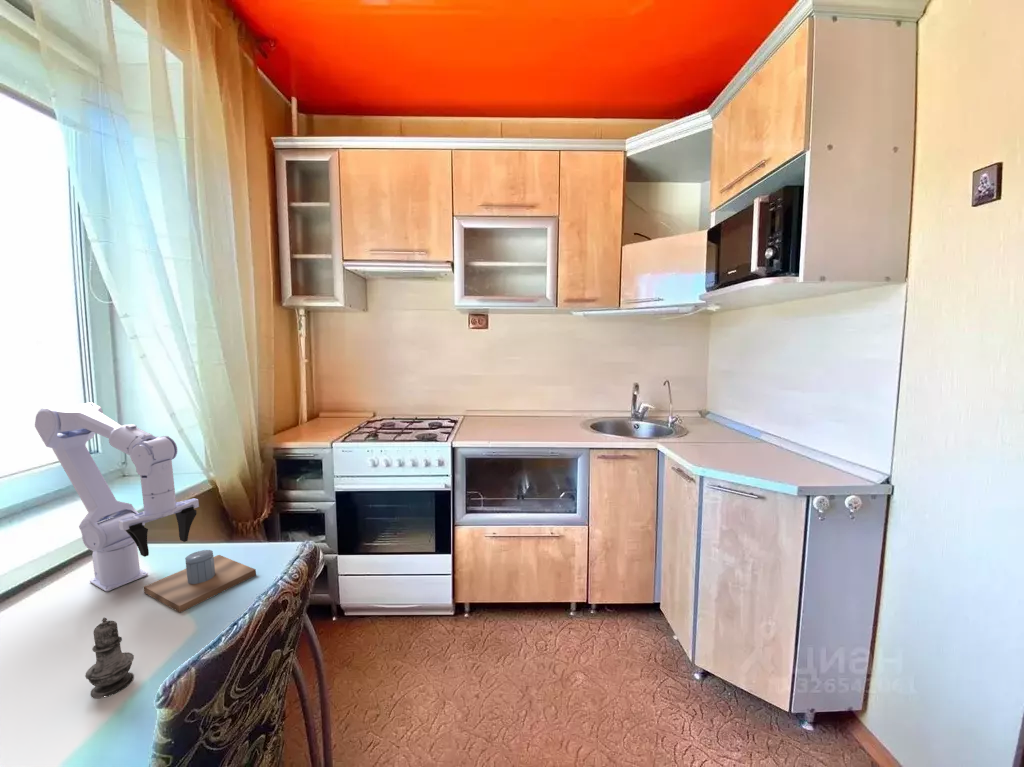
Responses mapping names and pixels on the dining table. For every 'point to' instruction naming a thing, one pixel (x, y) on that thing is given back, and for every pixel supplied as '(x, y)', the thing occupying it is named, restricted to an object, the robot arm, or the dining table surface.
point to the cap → (200, 566)
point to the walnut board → (187, 595)
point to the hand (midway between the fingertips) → (164, 547)
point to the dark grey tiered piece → (109, 662)
